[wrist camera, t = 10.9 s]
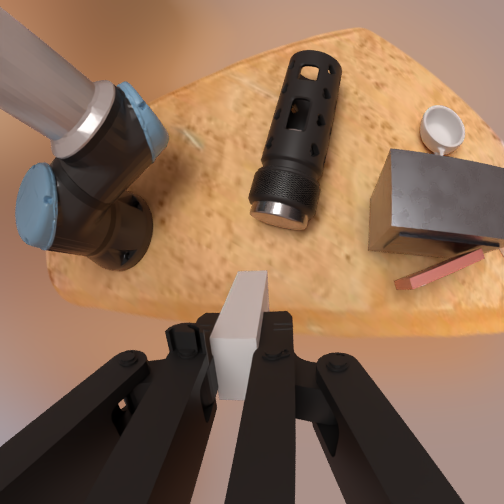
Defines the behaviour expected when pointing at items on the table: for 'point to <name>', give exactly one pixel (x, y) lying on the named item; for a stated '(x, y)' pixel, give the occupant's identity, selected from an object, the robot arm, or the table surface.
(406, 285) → the rocker
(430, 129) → the teacup
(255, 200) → the muzzle brake
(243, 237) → the table surface
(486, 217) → the switch box
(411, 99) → the table surface
